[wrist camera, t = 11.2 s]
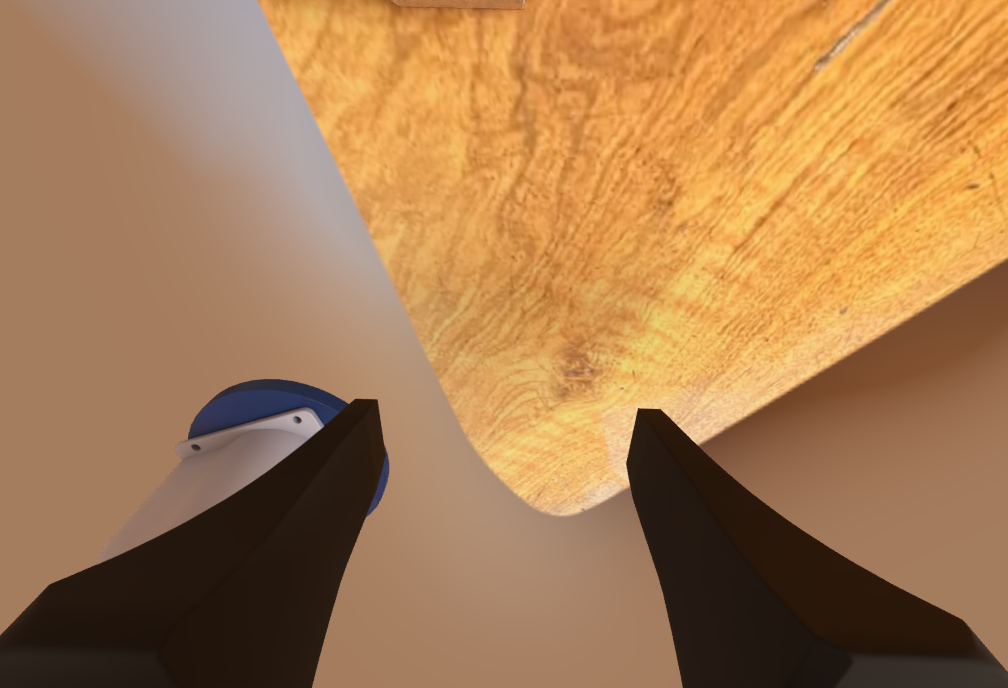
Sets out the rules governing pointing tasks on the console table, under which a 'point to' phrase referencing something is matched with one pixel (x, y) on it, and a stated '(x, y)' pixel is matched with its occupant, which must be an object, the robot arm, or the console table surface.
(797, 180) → the console table surface
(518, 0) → the beige rectangular block
